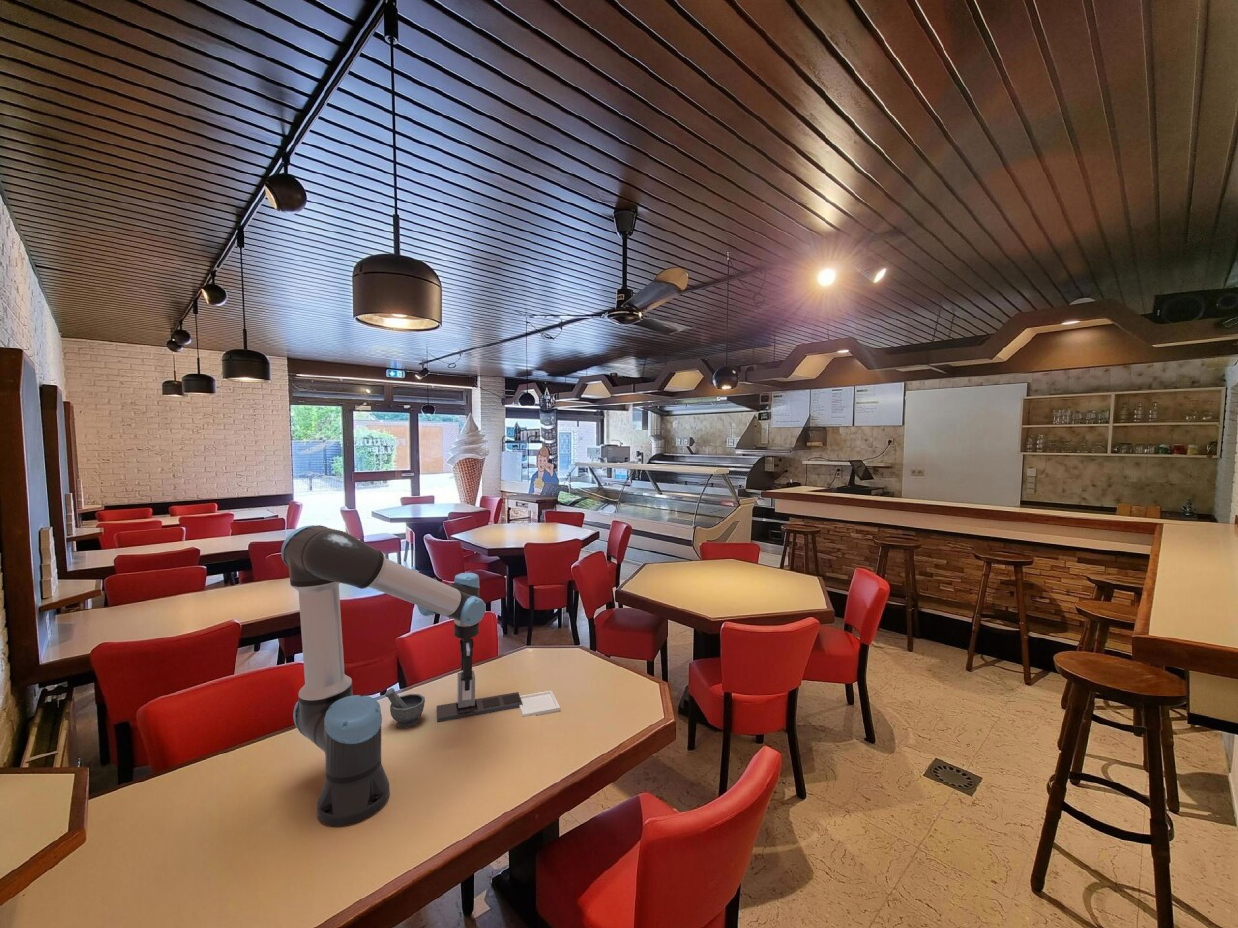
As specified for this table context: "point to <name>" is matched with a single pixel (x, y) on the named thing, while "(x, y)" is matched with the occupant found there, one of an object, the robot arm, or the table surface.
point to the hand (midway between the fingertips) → (466, 694)
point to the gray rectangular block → (459, 692)
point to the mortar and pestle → (405, 708)
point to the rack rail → (479, 707)
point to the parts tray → (539, 704)
